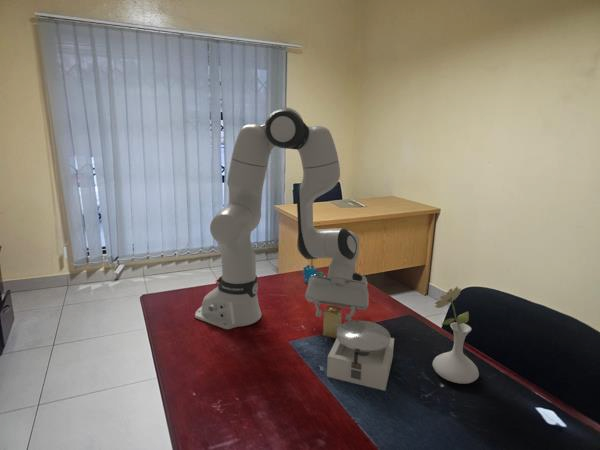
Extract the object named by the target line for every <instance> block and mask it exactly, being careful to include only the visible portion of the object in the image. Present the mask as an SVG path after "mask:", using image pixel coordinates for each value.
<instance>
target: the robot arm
mask: <svg viewBox="0 0 600 450" xmlns="http://www.w3.org/2000/svg"><path fill="white" fill-rule="evenodd" d="M334 141H335V140H334V138H333V136H332V133H331V131H330V130H329V129H328V128H327V127H324V126H323V125H321V126H320V125H314V126H308V125H307V124H306V123H305V122H304V120H303V117H302V116H301V115H300V113H298V111H297V110H295V109H293V108H290V107H280V108H277V109H276V110H274V111H272V112H271V113H269V115H268V116H267V119H266V120H265V123H264V124H255V123H249V124H245V125H243V126H242V127H241V128H240V130H239V132H238V134H237V137H236V140H235V143H234V146H233V149H232V150H233V151H232V154H231V158H230V159H231V160H230V164H229V168H228V169H229V170H228V175H227V180H226V183H227V186H228V191H229V192H228V204H227V205H226V207H224V208H223V209H220V210H219V211H218V212H217V213H216V214H215V216H213V219H212V220H211V222H210V225H209V227H210V228H209V230H210V234H211V236H212V238H213V240H215V242H217V246H218V249H219V253H220V258H221V276H219V277H218V279H216V280H215V285H217V284H218V286H216V287H215V288H213V290H211V291H210V292H208V293H207V294H206V295H205V296H204V297H203V300H202V303H201V306H200V307H199V308H198V309H197V310H196V311H195V314H194V318H196V319H198V320H200V321H203V322H206V323H208V324H210V325H213V326H216V327H219V328H222V329H224V330H232V329H234V328H238V327H245V326H250V325H252V324H254V323H257V322H258V321H259V320H260V319H261V318H262V311H261V309H260V303H259V298H258V291H259V287H258V286H259V285H258V284H259V283H258V276H257V260H256V259H257V258H256V253H255V251H254V250H253V246H252V245H253V244H252V241H251V233H252V232H253V231H254V230H255V229H256V228H257V227H258V226H259V224H260V221H261V218H262V204H263V203H262V201H263V199H262V198H263V188H264V183H265V178H266V174H267V170H268V164H269V162H270V161H269V160H270V155H271V153H272V151H273V149H274V148H276V147H277V148H279V149H280V148H281V149H289V150H296V151H297V152H298V153H299V156H300V160H301V165H302V171H303V173H302V180H301V182H300V183H299V184H298V185H297V186H298V187H297V191H296V212H297V213H296V214H297V228H298V229H297V231H298V232H297V245H296V246H297V250H298V253H300V255H301V256H302V257H304V259H305V260H317V259H331V262H330V263H329V267H328V272H327V275H324V274H322V275H317V274H315V275H313V276H311V277H310V278H309V281H308V283H307V288H306V290H305V299H306V300H307V302H311V303H314V304H313V305H314V307H315V309H316V311H315V316H316V317H319V318H321V317H322V314H323V311H322V309H319V307H320V305H321V304H322V305H323V304H324V305H328V306H335V307H340V308H347V309H348V308H349V309H350V312H349V313H346V314H345V318H344V320H345V322H349V321H352V317H353V316H354V315H355V313H356V312H357V310H361V311H366V310H367V309H368V308H369V299H370V298H369V289H368V280H367V277H366V276H365V275H363V274H360V273H358V272H356V270H357V269H356V264H357V262H358V260H359V259H358V258H359V252H360V238H359V236H358V234H356V233H355V232H353V231H351V230H348V229H346V228H341V227H339V228H338V227H337V228H336V227H332V228H331V227H330V228H316V227H315V226H314V213H313V212H314V208H313V206H314V202H315V200H316V199H317V198H319V197H321V196H322V195H324V194H326V193H328V192H330V191H331V190H333V188H335V186H337V185H338V182H339V180H340V177H341V168H340V162H339V156H338V152H337V148H336V144H335V142H334Z"/></svg>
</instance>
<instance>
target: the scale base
mask: <svg viewBox="0 0 600 450" xmlns="http://www.w3.org/2000/svg"><path fill="white" fill-rule="evenodd" d="M394 345H395V338H394V337H390V343H389V345H388V346H387V347H386V348H385V349H383V350H380V351H376V352H370V354H369V355H367V356H359V355H358V367H356V366H353V362H354V353H355V350H352V349H349V348H347V347H345V346H344V345H342V344H341V343H340V342H339V341H338V339H337V338H335V341H334V343H333V344H332V347H331V349H330V351H329V353H328V355H327V364H326V365H327V367H326V377H327V378H332V379H335V380H339V381H344V382H348V383H351V384H356V385H361V386H364V387H368V388H372V389H376V390H381V391H384V392H386V390H387V385H388V381H389V376H390V371H391V367H392V364H393V363H392V362H393V358H394Z"/></svg>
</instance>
